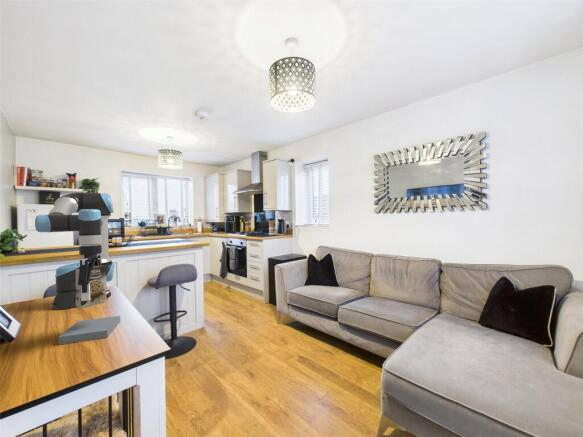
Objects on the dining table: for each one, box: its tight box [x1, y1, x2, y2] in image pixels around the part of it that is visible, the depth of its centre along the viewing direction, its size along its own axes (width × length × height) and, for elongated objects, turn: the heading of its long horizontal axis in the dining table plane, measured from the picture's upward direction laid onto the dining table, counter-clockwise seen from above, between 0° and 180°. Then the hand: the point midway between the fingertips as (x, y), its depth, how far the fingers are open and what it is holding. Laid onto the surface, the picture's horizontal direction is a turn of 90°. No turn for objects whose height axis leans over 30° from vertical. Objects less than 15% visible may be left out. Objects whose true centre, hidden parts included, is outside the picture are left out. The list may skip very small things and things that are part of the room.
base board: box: [58, 315, 121, 346], centre depth 106 cm, size 16×16×3 cm
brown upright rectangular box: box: [76, 265, 108, 309], centre depth 106 cm, size 9×6×16 cm
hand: (91, 296), depth 106 cm, fingers closed on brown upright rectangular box, 10 cm apart
